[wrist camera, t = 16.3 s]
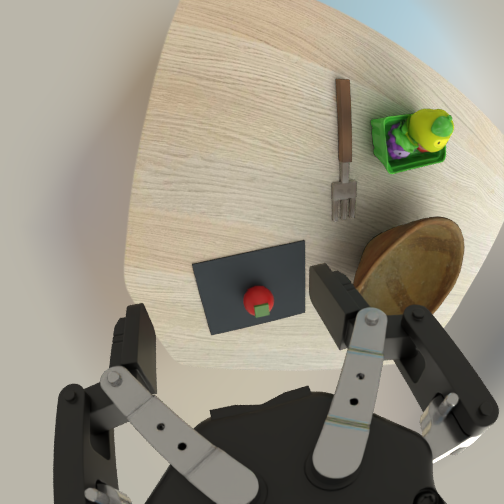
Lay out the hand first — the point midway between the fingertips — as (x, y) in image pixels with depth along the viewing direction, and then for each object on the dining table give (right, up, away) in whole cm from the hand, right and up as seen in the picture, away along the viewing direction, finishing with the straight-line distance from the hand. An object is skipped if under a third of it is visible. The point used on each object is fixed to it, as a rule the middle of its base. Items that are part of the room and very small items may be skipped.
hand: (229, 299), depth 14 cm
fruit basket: (+21, +20, +23) cm, 37 cm away
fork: (+13, +16, +23) cm, 31 cm away
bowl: (+23, +2, +34) cm, 41 cm away
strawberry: (+2, -4, +31) cm, 32 cm away
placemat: (+1, -4, +31) cm, 32 cm away
